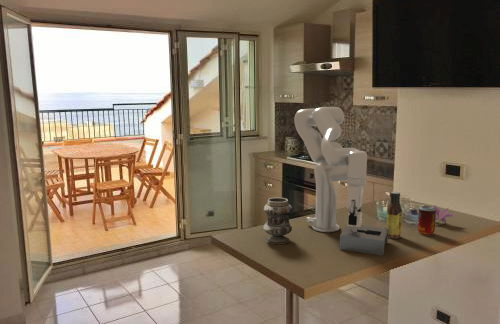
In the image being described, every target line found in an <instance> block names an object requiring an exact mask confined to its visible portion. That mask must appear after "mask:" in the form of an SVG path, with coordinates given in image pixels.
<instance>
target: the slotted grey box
mask: <svg viewBox="0 0 500 324" xmlns="http://www.w3.org/2000/svg"><path fill="white" fill-rule="evenodd" d="M388 241H389V238H388V229H387V228H386V227H385V228H384V227H377V226H368V225H363V224H361V226H360V227H357V232H353V231H352V226H347V224H346V226H345V227H344V229H343V230H342V232H340V235H339V250H341V251H347V252H348V251H349V252H356V253H362V254H369V255H370V254H371V255H375V256H376V255H377V256H384V255H385V244H388Z"/></svg>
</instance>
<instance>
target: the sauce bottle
mask: <svg viewBox="0 0 500 324" xmlns="http://www.w3.org/2000/svg"><path fill="white" fill-rule="evenodd" d="M400 199H401V192H399V191H391V192H390V201H389V202H390V203H389V204H388V205H387V210H386V211H387V212H386V227H385V228H387V229H388V239H395V240H396V239H397V240H398V239H400V238H401V234H402V221H403V209H402V206H401V203H400Z"/></svg>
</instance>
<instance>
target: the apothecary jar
mask: <svg viewBox="0 0 500 324" xmlns="http://www.w3.org/2000/svg"><path fill="white" fill-rule="evenodd" d="M292 210H293V208H292V205H291V204H289V200H288V198H285V197H270V198H268V199H267V203H266V204H265V205H264V207H263V211H264V212H265V213H266V222H265V223H264V225H263V231H264V232H265V233H266V234H268V235H270V236H268V237H266V242H267V243H269V244H270V245H271V244H272V245H284V244H287V243H289V242H290V238H289V237H288V236H286V235H288V234H290V233H291V232H292V230H293V226H292V223H290V213H291V212H292Z"/></svg>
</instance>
